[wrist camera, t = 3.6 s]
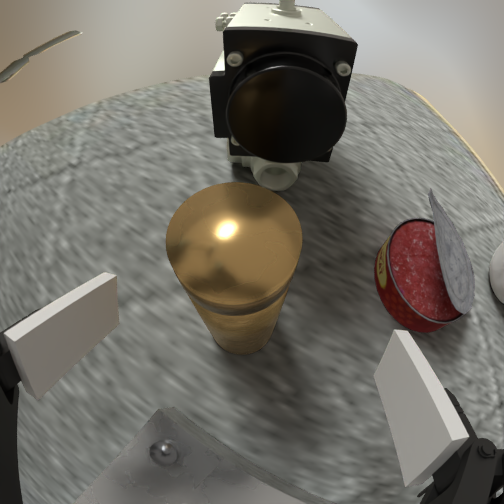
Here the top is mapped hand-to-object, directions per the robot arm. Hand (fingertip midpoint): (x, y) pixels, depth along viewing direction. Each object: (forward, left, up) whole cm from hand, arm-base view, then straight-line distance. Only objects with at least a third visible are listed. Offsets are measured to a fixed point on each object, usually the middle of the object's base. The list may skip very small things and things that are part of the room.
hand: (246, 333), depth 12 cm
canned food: (+9, +14, -8) cm, 19 cm away
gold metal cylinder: (-2, +2, -8) cm, 8 cm away
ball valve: (-10, +17, -8) cm, 21 cm away
